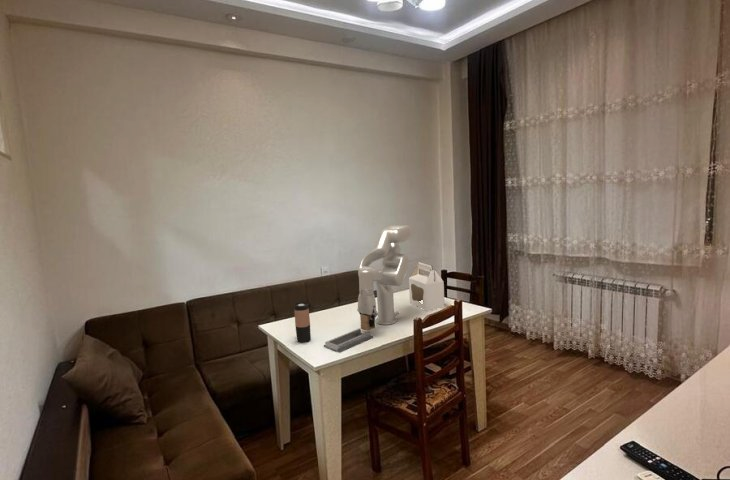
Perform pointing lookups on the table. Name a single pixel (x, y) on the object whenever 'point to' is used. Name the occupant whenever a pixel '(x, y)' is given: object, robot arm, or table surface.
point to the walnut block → (366, 322)
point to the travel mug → (302, 322)
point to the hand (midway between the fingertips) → (368, 325)
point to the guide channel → (348, 340)
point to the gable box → (426, 288)
